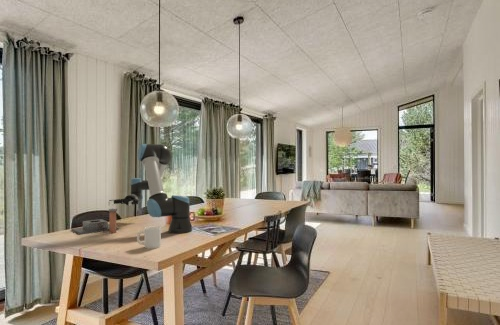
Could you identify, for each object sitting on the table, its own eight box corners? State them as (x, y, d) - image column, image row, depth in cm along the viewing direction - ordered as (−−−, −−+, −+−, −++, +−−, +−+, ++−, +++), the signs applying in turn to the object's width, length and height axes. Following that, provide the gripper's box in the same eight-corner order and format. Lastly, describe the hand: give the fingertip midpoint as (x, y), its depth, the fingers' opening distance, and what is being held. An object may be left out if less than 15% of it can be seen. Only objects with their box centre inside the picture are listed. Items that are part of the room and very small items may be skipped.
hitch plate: (108, 225, 231) (108, 217, 231) (118, 229, 219) (118, 220, 219) (71, 230, 215) (71, 221, 215) (80, 234, 202) (80, 225, 202)
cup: (161, 248, 169) (161, 228, 169) (137, 250, 165) (137, 230, 165) (159, 244, 177) (159, 225, 177) (136, 246, 172) (136, 227, 172)
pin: (115, 231, 211) (115, 208, 212) (118, 232, 208) (118, 209, 208) (107, 232, 208) (107, 209, 208) (110, 233, 204) (110, 209, 205)
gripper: (147, 205, 239) (137, 209, 218) (114, 204, 239) (100, 209, 218) (147, 195, 239) (137, 198, 218) (114, 194, 239) (100, 197, 218)
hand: (119, 203), depth 218 cm, fingers open, 13 cm apart
